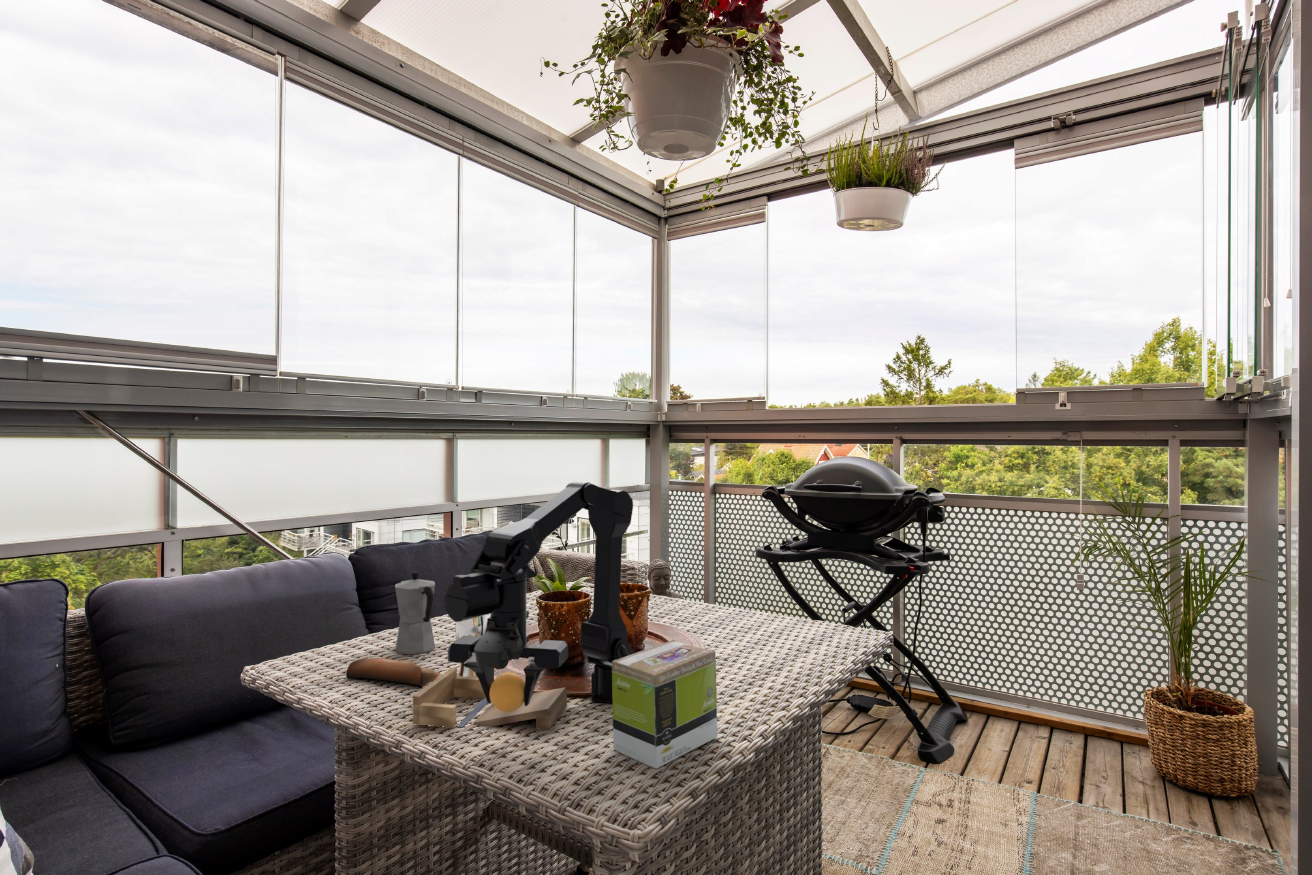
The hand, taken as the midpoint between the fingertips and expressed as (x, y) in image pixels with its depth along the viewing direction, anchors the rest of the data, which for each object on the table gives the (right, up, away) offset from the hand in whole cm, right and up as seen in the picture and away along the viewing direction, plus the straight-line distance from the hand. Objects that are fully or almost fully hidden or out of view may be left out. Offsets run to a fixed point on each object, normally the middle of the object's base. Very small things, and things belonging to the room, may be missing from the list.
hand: (508, 703), depth 112 cm
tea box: (+26, -7, 0) cm, 27 cm away
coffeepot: (-31, -6, +48) cm, 58 cm away
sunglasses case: (-30, -7, +30) cm, 43 cm away
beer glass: (-13, -6, +29) cm, 32 cm away
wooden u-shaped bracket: (-13, -6, +14) cm, 20 cm away
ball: (0, -1, 0) cm, 1 cm away
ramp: (0, -6, +11) cm, 13 cm away
